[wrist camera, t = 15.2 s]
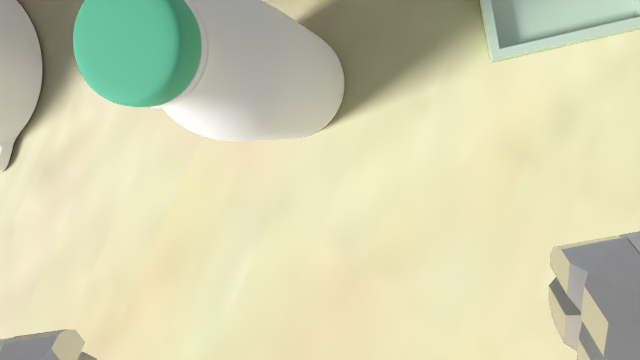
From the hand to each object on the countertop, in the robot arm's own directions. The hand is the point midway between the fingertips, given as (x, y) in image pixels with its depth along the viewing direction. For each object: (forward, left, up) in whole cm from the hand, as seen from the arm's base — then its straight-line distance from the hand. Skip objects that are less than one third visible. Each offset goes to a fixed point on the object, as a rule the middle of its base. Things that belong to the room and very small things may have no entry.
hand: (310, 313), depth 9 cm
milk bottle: (-8, +8, -28) cm, 30 cm away
